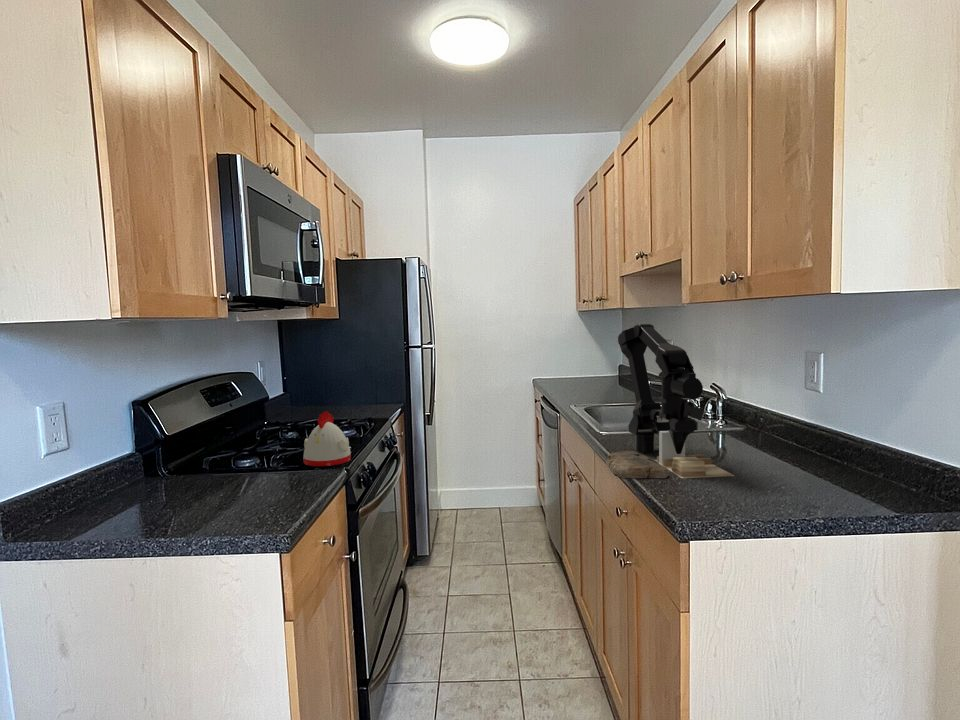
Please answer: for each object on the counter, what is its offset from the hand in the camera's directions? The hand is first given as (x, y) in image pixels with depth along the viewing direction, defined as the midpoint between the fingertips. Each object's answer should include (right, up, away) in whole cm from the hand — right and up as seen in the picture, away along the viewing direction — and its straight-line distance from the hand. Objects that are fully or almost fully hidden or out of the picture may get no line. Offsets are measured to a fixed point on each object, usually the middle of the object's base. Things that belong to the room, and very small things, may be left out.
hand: (672, 450), depth 152 cm
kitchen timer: (-100, -6, +15) cm, 101 cm away
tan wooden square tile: (+1, -4, -10) cm, 11 cm away
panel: (0, -4, 0) cm, 4 cm away
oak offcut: (+1, -3, -10) cm, 10 cm away
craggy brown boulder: (-12, -6, -3) cm, 14 cm away
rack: (+4, -5, -4) cm, 8 cm away
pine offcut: (+1, -2, -10) cm, 10 cm away
